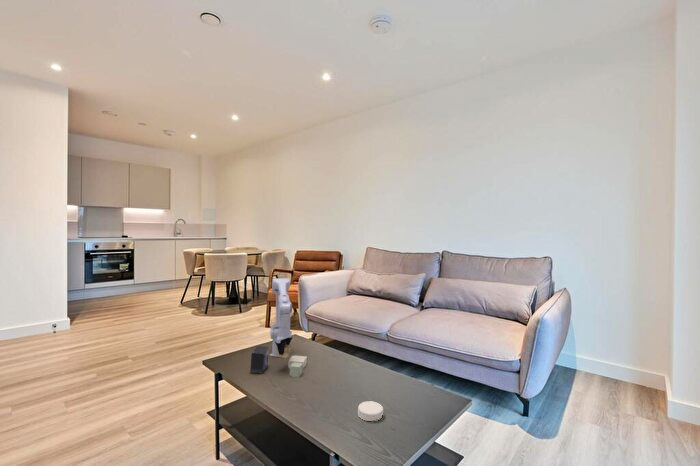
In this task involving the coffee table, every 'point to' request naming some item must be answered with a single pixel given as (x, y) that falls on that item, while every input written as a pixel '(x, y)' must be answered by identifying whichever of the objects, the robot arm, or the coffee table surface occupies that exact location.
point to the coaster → (370, 410)
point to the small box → (259, 359)
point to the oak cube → (286, 352)
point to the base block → (297, 360)
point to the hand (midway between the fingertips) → (283, 352)
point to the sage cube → (296, 369)
